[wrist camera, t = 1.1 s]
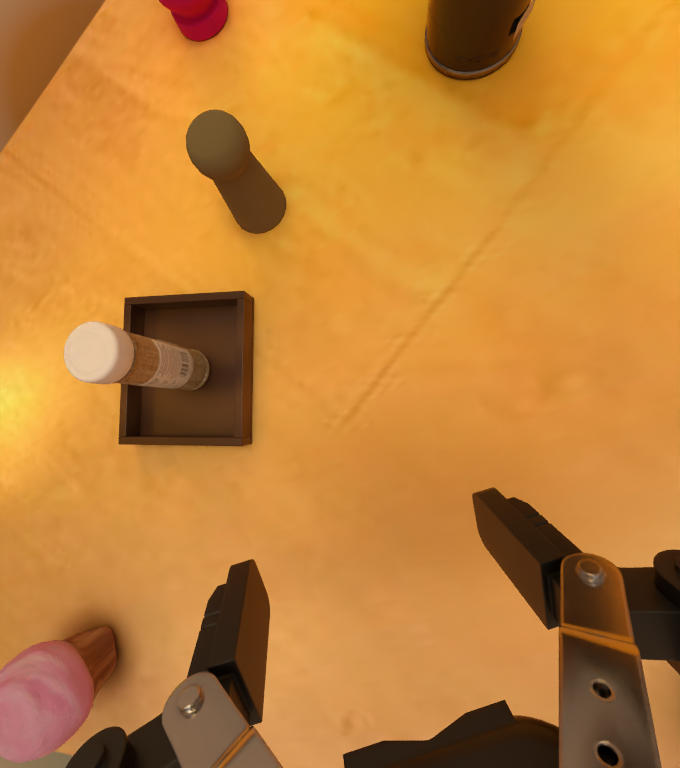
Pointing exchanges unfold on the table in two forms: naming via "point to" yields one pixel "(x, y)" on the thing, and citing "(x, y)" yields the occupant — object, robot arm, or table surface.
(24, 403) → the table surface
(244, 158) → the olive chess pawn
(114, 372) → the sprinkles bottle
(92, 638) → the cupcake
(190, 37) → the pepper mill
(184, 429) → the tray
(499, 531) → the robot arm
